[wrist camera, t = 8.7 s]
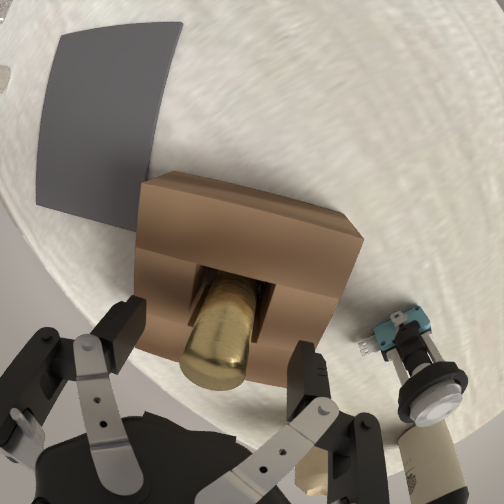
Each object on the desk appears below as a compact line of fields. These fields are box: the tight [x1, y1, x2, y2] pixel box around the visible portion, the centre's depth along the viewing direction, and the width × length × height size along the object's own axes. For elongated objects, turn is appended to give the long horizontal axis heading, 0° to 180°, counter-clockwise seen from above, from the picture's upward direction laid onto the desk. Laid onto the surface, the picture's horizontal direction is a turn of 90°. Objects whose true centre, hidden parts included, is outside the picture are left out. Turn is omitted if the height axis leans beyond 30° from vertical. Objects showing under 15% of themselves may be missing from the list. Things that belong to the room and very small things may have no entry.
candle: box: [295, 446, 328, 496], centre depth 23 cm, size 6×6×10 cm
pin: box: [179, 270, 260, 391], centre depth 16 cm, size 3×3×10 cm
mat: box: [36, 22, 183, 232], centre depth 17 cm, size 16×12×1 cm
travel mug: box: [398, 419, 469, 504], centre depth 20 cm, size 8×8×18 cm
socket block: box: [134, 171, 364, 388], centre depth 18 cm, size 12×12×5 cm
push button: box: [358, 306, 468, 427], centre depth 17 cm, size 7×5×10 cm
